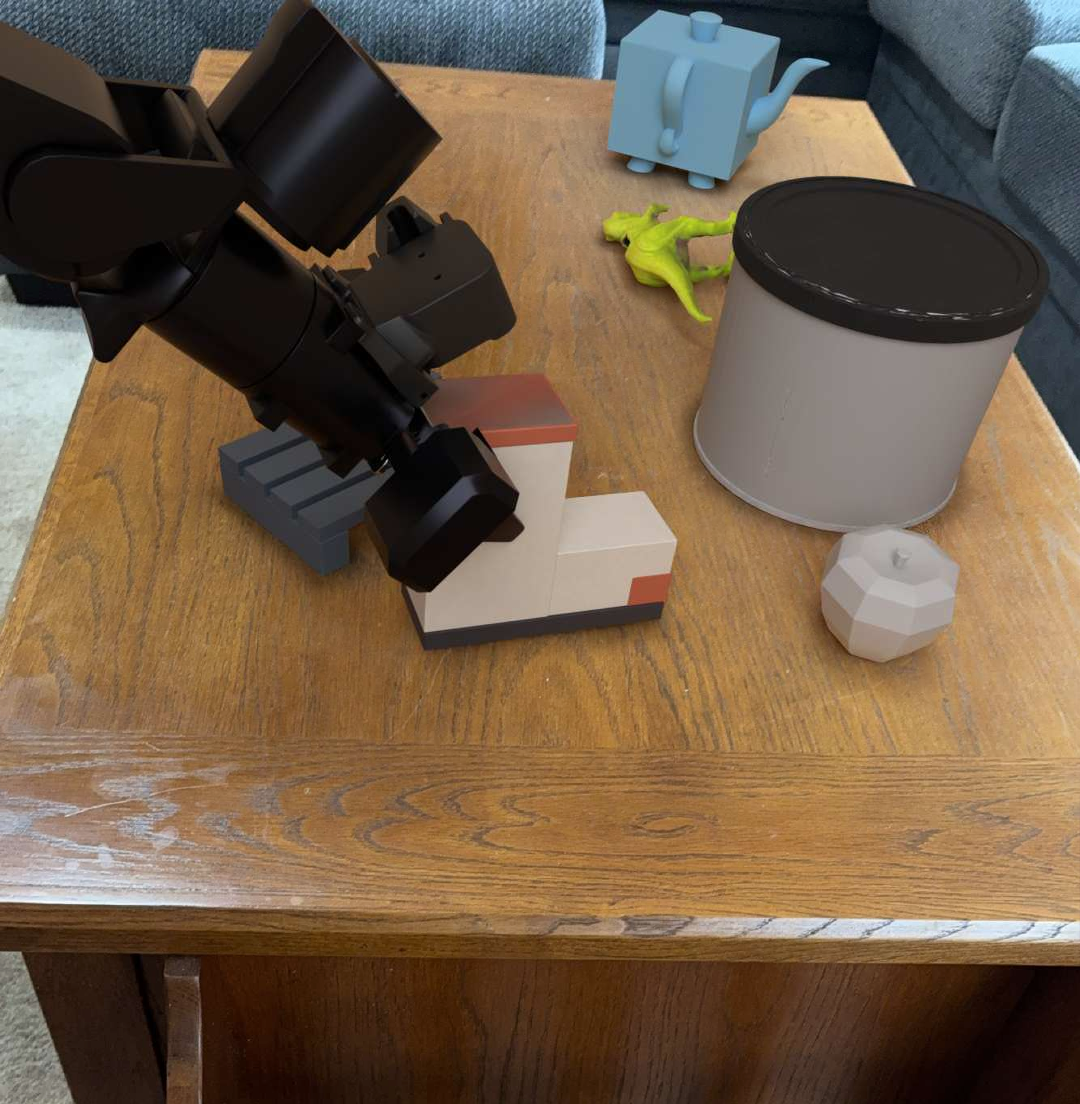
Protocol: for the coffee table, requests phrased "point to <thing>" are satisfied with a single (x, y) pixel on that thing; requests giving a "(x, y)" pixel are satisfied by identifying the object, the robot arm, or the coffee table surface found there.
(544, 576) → the cream boot
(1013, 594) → the coffee table surface
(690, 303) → the dinosaur figurine
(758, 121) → the teapot
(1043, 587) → the coffee table surface
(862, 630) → the apple
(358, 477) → the grey shipping pallet
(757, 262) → the container
